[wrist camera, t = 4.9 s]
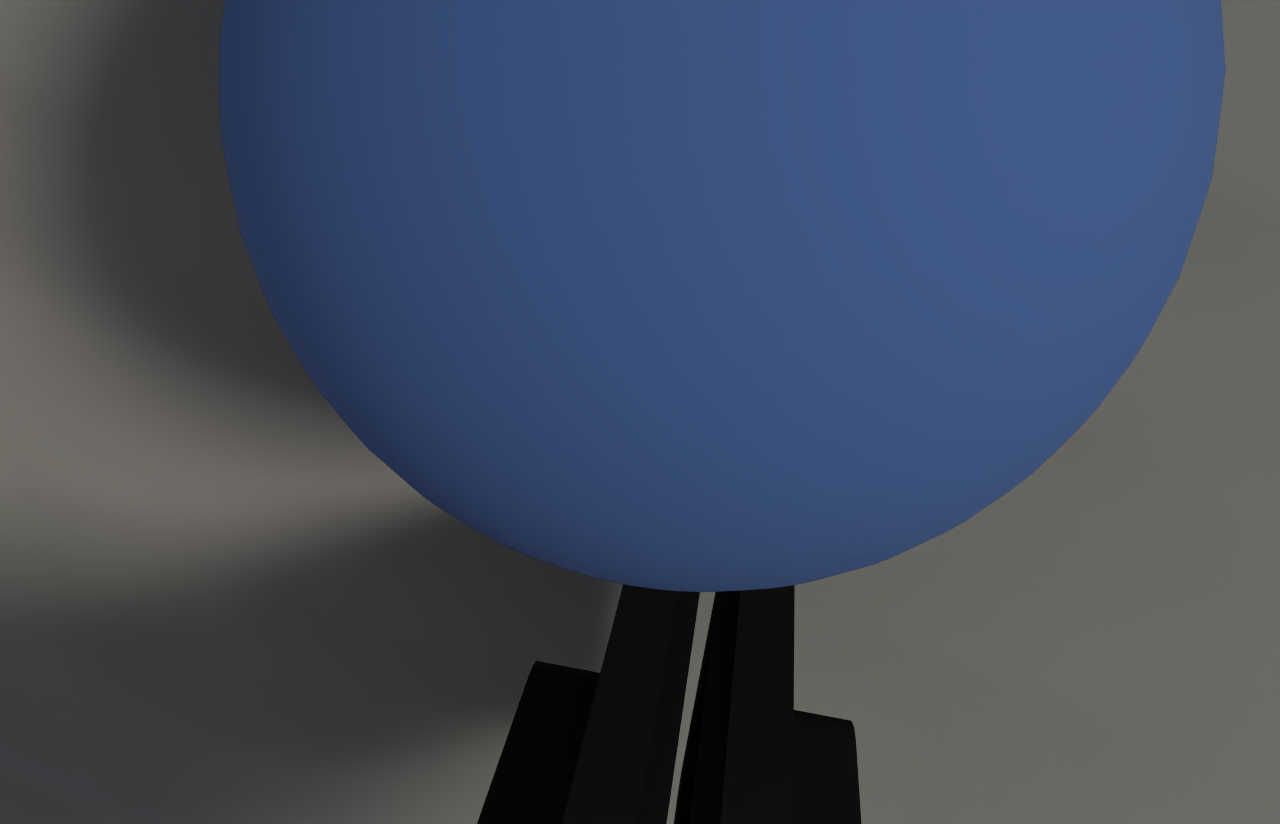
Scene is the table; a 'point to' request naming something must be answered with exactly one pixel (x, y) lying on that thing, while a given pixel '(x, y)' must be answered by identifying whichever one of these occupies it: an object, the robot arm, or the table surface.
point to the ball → (717, 254)
